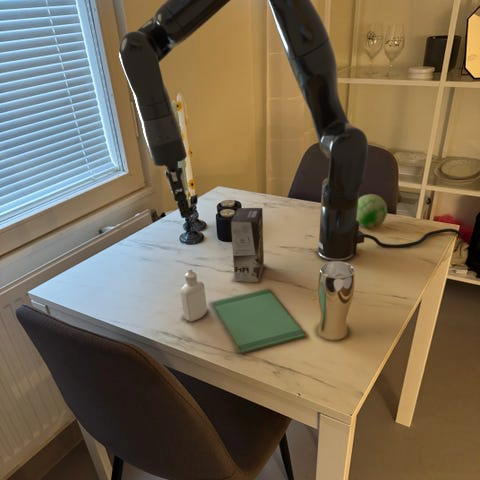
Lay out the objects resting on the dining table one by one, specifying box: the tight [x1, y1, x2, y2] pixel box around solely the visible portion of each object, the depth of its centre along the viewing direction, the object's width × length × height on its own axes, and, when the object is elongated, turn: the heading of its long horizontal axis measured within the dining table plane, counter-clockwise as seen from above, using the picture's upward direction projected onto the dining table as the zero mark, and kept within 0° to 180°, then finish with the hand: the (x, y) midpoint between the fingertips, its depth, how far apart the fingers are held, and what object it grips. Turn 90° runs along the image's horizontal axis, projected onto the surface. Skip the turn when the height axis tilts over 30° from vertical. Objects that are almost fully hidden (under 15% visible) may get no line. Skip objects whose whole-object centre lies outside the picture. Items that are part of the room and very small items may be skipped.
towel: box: [212, 288, 306, 354], centre depth 102 cm, size 14×20×1 cm
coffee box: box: [230, 207, 265, 283], centre depth 114 cm, size 9×6×16 cm
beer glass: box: [317, 261, 356, 341], centre depth 93 cm, size 7×7×15 cm
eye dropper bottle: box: [180, 267, 208, 322], centre depth 101 cm, size 4×6×12 cm
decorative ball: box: [356, 193, 388, 230], centre depth 135 cm, size 10×10×10 cm
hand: (185, 211), depth 106 cm, fingers open, 8 cm apart
